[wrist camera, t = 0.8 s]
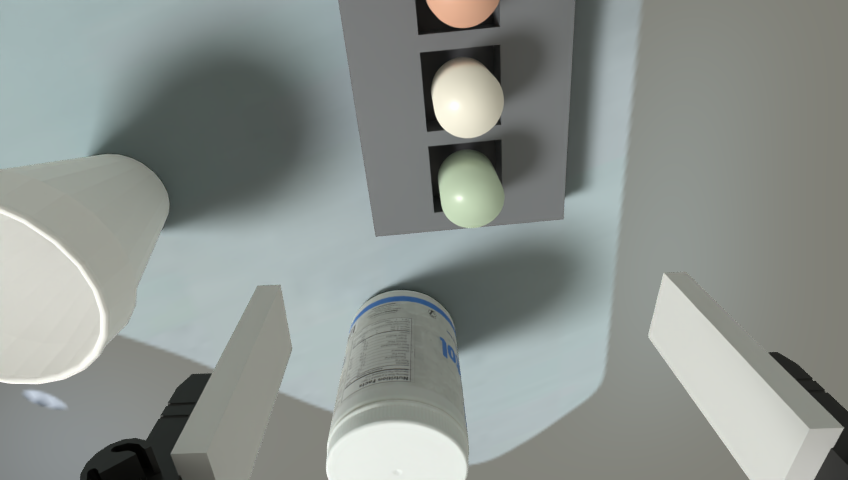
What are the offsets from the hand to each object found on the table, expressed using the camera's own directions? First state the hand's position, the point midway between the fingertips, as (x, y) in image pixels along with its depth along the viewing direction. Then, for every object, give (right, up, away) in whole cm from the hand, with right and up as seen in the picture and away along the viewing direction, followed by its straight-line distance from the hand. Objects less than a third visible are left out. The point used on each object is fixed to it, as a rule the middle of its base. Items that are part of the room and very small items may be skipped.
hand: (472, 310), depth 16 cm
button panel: (+1, +14, +17) cm, 21 cm away
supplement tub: (-4, -6, +27) cm, 28 cm away
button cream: (+1, +12, +14) cm, 18 cm away
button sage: (+1, +7, +17) cm, 18 cm away
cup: (-25, +6, +20) cm, 33 cm away
